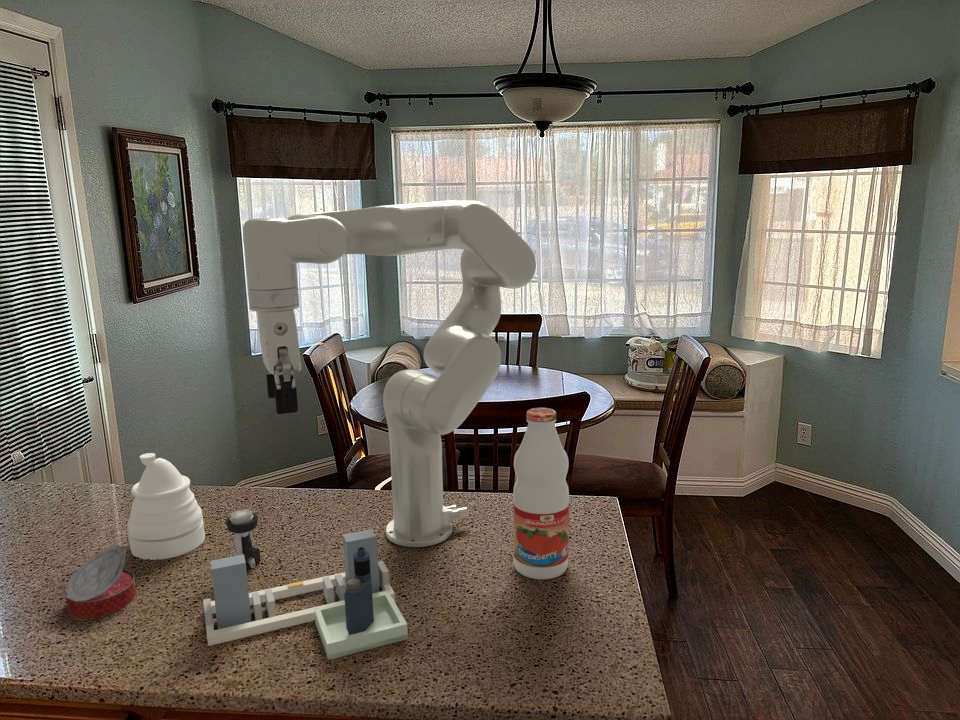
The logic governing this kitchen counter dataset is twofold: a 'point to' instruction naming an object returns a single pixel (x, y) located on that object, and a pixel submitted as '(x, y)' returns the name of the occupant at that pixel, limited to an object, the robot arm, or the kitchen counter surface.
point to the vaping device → (359, 595)
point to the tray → (379, 633)
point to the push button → (244, 535)
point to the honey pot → (163, 513)
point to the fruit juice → (541, 499)
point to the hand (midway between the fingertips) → (282, 404)
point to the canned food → (100, 585)
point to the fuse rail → (280, 593)
